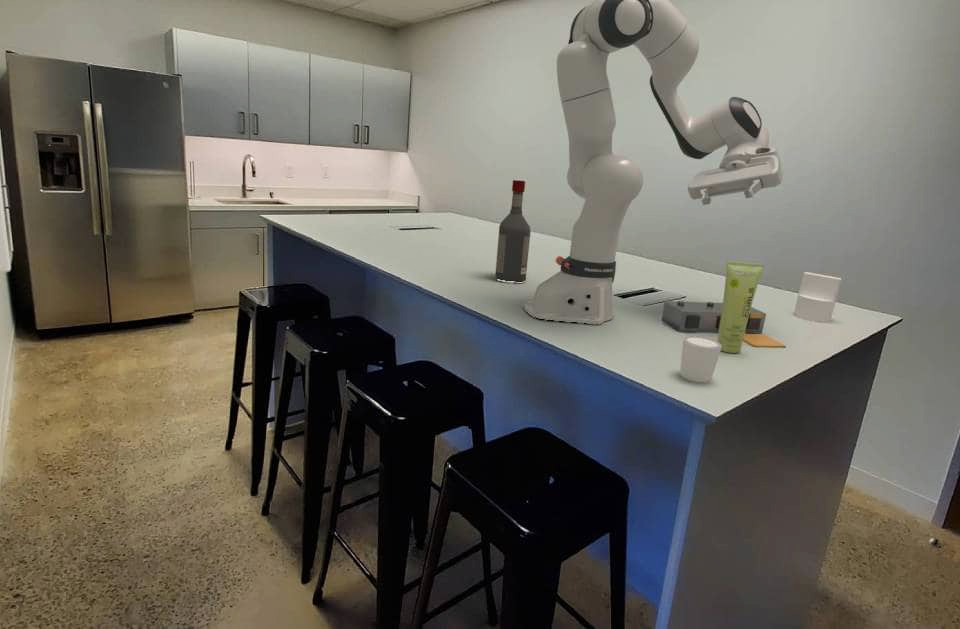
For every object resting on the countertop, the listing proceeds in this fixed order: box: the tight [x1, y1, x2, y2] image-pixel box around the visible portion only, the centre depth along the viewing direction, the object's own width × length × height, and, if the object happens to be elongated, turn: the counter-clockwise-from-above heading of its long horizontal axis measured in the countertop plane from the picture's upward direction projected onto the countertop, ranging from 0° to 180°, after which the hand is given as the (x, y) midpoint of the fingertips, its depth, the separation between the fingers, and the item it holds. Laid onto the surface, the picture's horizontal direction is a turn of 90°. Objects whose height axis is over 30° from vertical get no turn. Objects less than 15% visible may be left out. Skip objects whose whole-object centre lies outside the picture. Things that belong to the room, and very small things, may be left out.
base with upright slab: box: [793, 271, 842, 324], centre depth 154 cm, size 9×9×12 cm
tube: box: [716, 261, 765, 354], centre depth 120 cm, size 6×5×20 cm
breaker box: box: [661, 300, 767, 334], centre depth 138 cm, size 22×10×6 cm, turn 99°
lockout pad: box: [743, 333, 787, 348], centre depth 130 cm, size 8×8×1 cm
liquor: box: [495, 179, 532, 282], centre depth 169 cm, size 9×9×30 cm
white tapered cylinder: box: [679, 336, 722, 384], centre depth 105 cm, size 7×7×7 cm
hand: (726, 198), depth 127 cm, fingers open, 8 cm apart
